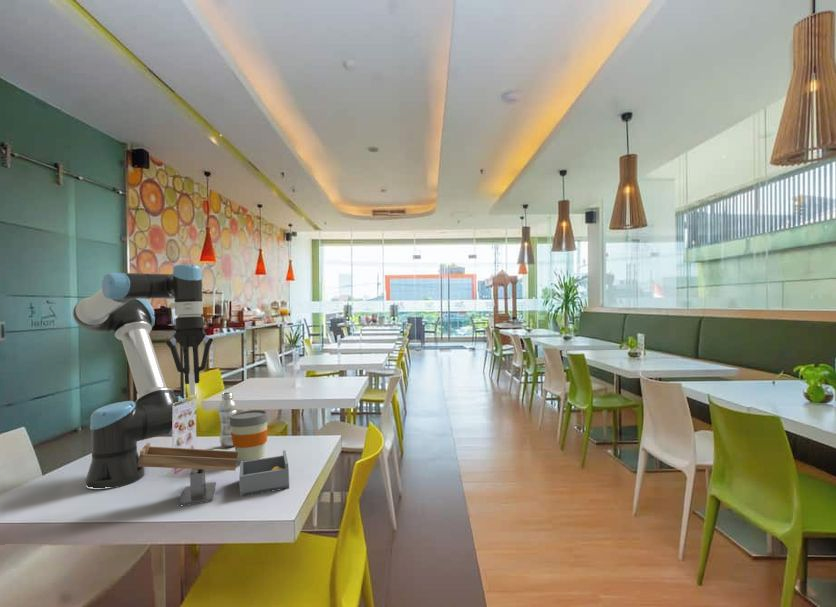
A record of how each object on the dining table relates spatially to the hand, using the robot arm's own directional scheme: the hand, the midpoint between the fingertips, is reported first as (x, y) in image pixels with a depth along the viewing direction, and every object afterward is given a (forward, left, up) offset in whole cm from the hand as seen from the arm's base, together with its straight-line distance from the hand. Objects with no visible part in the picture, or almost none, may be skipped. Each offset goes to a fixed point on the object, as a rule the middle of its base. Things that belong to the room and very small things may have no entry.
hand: (192, 394), depth 136 cm
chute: (+6, -5, -19) cm, 20 cm away
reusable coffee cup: (-5, +22, -27) cm, 35 cm away
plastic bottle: (-24, +26, -27) cm, 44 cm away
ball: (+22, +12, -24) cm, 35 cm away
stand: (+10, -5, -26) cm, 29 cm away
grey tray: (+20, +9, -26) cm, 34 cm away
